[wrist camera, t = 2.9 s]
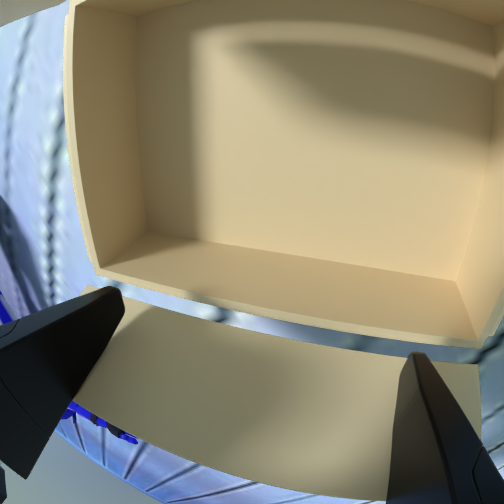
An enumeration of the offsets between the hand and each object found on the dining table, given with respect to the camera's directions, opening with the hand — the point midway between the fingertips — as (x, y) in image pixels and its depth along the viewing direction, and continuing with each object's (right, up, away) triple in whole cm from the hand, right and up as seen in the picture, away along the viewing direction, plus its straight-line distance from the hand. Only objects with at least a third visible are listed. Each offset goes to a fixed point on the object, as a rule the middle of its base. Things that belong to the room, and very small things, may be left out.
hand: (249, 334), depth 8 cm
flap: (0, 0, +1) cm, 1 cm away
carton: (+2, +7, +3) cm, 8 cm away
